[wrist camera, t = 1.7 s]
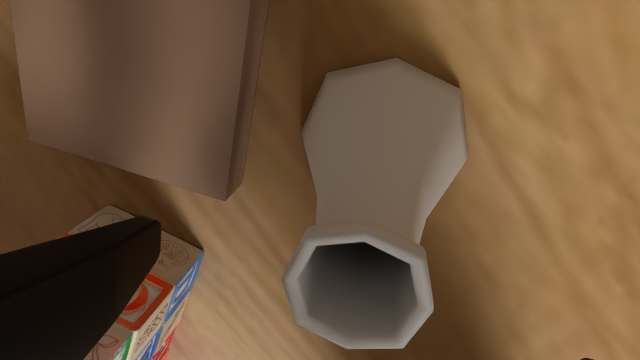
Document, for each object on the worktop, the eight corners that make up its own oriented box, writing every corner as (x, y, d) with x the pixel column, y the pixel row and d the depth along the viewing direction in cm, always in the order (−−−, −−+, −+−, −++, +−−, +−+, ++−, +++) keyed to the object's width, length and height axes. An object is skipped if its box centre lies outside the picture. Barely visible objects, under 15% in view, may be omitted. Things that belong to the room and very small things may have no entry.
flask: (491, 68, 15) (619, 163, 6) (447, 226, 18) (488, 447, 9) (308, 46, 16) (182, 98, 7) (297, 200, 19) (200, 373, 10)
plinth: (275, -44, 15) (257, -51, 13) (242, 182, 19) (225, 201, 17) (41, -102, 16) (-7, -116, 14) (61, 128, 20) (27, 140, 18)
